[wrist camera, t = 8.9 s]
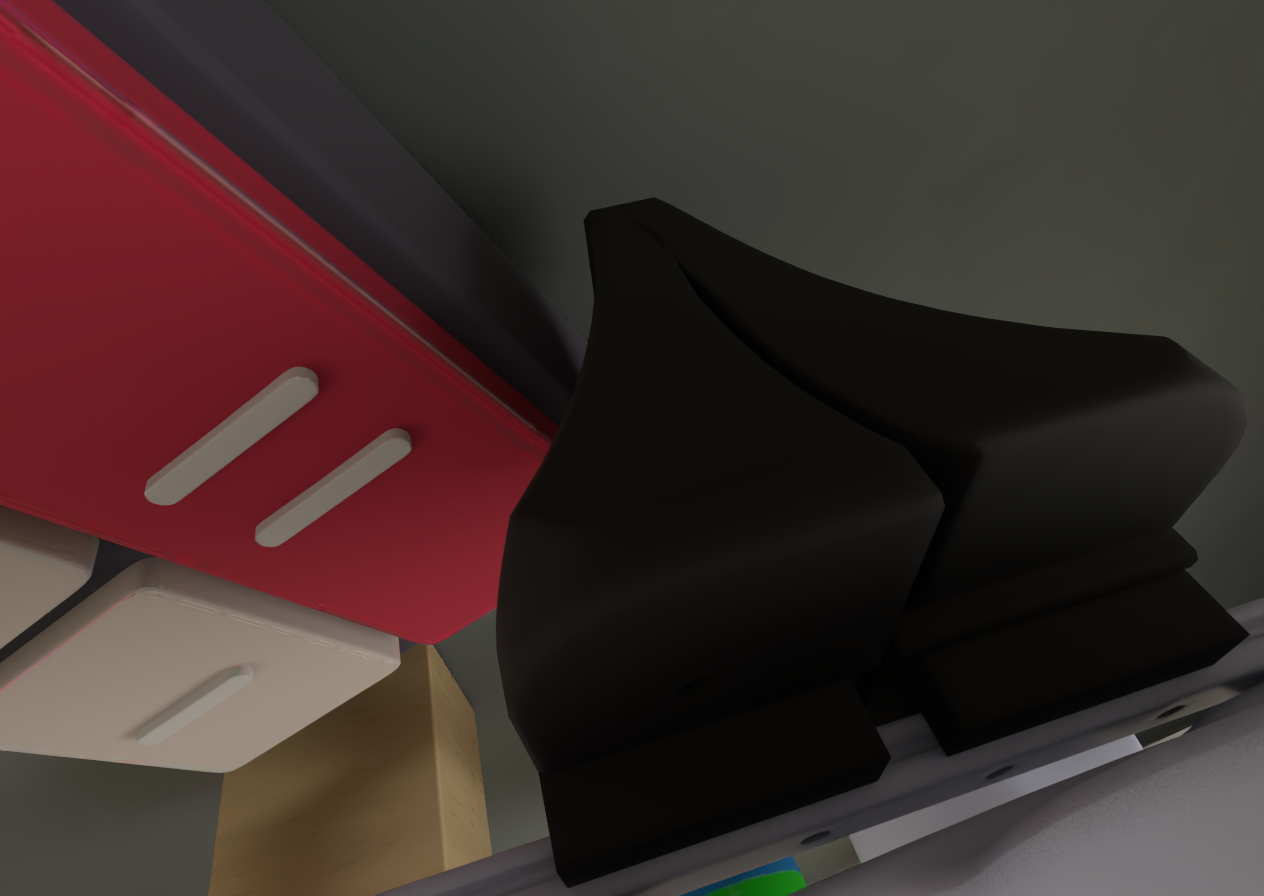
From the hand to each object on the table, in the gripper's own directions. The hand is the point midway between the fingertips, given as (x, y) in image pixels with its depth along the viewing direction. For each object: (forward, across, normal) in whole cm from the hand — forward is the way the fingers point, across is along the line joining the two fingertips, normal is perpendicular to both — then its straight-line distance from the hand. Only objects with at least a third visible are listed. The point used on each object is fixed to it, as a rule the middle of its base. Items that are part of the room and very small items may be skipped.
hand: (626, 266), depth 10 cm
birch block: (+1, +8, +13) cm, 16 cm away
